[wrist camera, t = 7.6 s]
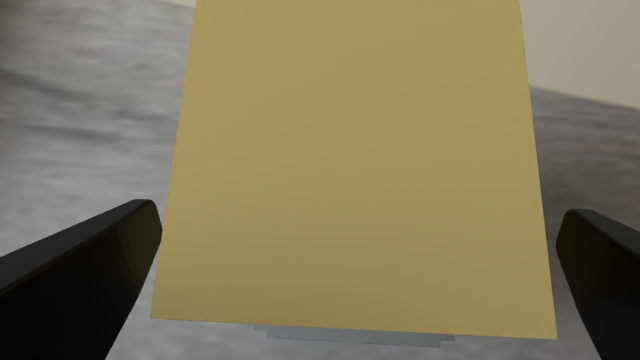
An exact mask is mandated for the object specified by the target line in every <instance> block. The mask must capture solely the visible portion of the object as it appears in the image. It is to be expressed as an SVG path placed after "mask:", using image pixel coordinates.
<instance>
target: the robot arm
mask: <svg viewBox="0 0 640 360" xmlns="http://www.w3.org/2000/svg"><path fill="white" fill-rule="evenodd" d="M162 232H163V229H162V225H161V222H160V218H159V214H158V211H157V207H156V204H155V203H154V202H153V201H152V200H149V199H135V200H132V201H129V202H127V203H125V204H122V205H120V206H118V207H115V208H113V209H111V210H108V211H106V212H104V213H101V214H99V215H97V216H95V217H92V218H90V219H88V220H85V221H83V222H81V223H78V224H76V225H74V226H71V227H69V228H67V229H64V230H62V231H60V232H57V233H55V234H53V235H51V236H48V237H46V238H44V239H41V240H39V241H37V242H34V243H32V244H30V245H27V246H25V247H23V248H20V249H18V250H16V251H13V252H11V253H9V254H7V255H4V256H2V257H0V360H105V359H106V357H107V355H108V353H109V351H110V349H111V347H112V345H113V344H114V342H115V340H116V338H117V336H118V334H119V332H120V330H121V329H122V327H123V325H124V323H125V321H126V319H127V317H128V315H129V314H130V312H131V310H132V308H133V306H134V304H135V302H136V300H137V298H138V296H139V294H140V292H141V290H142V287H143V285H144V282H145V280H146V278H147V275H148V273H149V270H150V268H151V265H152V263H153V260H154V258H155V255H156V253H157V250H158V248H159V245H160V243H161V238H162ZM556 252H557V255H558V258H559V260H560V263H561V266H562V269H563V271H564V274H565V277H566V280H567V282H568V285H569V288H570V291H571V293H572V296H573V299H574V302H575V305H576V307H577V310H578V312H579V315H580V317H581V319H582V321H583V323H584V325H585V328H586V330H587V332H588V334H589V336H590V338H591V340H592V342H593V344H594V346H595V348H596V350H597V352H598V354H599V356H600V358H601V360H640V232H639V231H637V230H634V229H632V228H630V227H628V226H626V225H623V224H621V223H619V222H617V221H615V220H612V219H610V218H608V217H606V216H604V215H602V214H599V213H597V212H595V211H593V210H588V209H570V210H568V211H567V212H566V213H565V215H564V218H563V221H562V224H561V227H560V231H559V234H558V237H557V240H556Z"/></svg>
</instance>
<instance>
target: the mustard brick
mask: <svg viewBox="0 0 640 360" xmlns="http://www.w3.org/2000/svg"><path fill="white" fill-rule="evenodd" d="M150 319H168V320H187V321H207V322H226V323H245V324H265V325H284V326H304V327H323V328H343V329H362V330H382V331H401V332H420V333H440V334H459V335H479V336H498V337H518V338H537V339H557V330H556V321H555V312H554V303H553V295H552V286H551V277H550V268H549V259H548V251H547V242H546V233H545V224H544V215H543V206H542V198H541V189H540V180H539V171H538V162H537V154H536V145H535V136H534V127H533V118H532V109H531V101H530V92H529V83H528V74H527V65H526V57H525V48H524V39H523V31H522V21H521V13H520V4H519V0H197V2H196V8H195V15H194V22H193V29H192V36H191V42H190V49H189V56H188V63H187V69H186V76H185V83H184V90H183V96H182V103H181V110H180V117H179V123H178V130H177V137H176V144H175V150H174V157H173V164H172V171H171V177H170V184H169V191H168V198H167V205H166V211H165V218H164V225H163V232H162V238H161V245H160V252H159V259H158V265H157V272H156V279H155V286H154V292H153V299H152V306H151V313H150ZM557 340H558V339H557Z"/></svg>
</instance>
